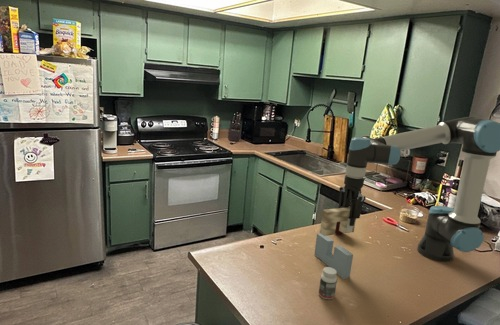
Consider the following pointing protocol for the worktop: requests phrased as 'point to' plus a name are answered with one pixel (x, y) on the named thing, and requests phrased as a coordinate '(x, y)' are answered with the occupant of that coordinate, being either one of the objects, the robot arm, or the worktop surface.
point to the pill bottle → (328, 283)
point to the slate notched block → (333, 255)
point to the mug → (338, 229)
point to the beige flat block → (334, 220)
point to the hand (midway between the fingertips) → (345, 230)
